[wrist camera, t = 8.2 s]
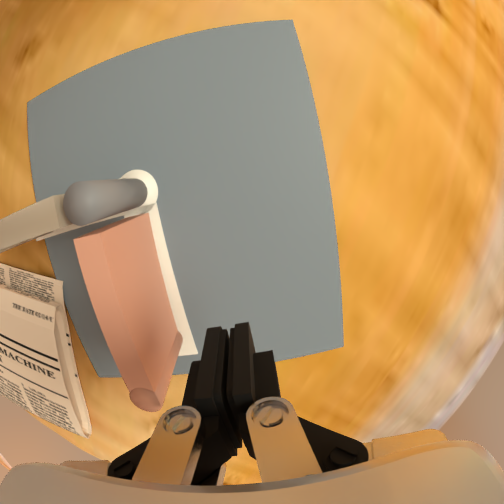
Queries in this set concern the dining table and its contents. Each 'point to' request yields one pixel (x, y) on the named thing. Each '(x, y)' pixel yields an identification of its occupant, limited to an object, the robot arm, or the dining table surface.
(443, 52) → the dining table surface
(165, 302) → the fence panel
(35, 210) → the fence fixed
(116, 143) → the card
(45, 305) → the newspaper
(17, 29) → the dining table surface
